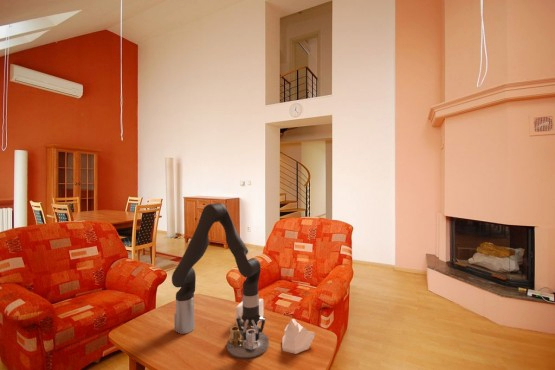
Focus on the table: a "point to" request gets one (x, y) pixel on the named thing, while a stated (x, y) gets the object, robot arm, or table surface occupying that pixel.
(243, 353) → the carrier
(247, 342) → the gear
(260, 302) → the cable organizer
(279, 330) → the table surface
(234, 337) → the seated gear
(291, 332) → the white faceted rock
